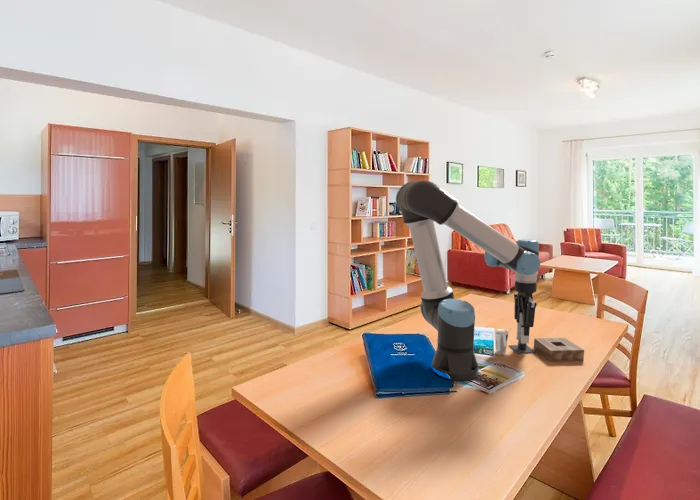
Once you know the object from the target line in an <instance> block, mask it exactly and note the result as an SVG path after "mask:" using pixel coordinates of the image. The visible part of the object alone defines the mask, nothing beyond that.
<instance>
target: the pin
mask: <svg viewBox="0 0 700 500" xmlns="http://www.w3.org/2000/svg"><path fill="white" fill-rule="evenodd" d="M521 325H523V312H520V318H519V336H518V340H517V345H518V349H520V350H526V347H527V346H528V345H527V344H528V343H524V344H522V343H521V329H522V327H521Z"/></svg>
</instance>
